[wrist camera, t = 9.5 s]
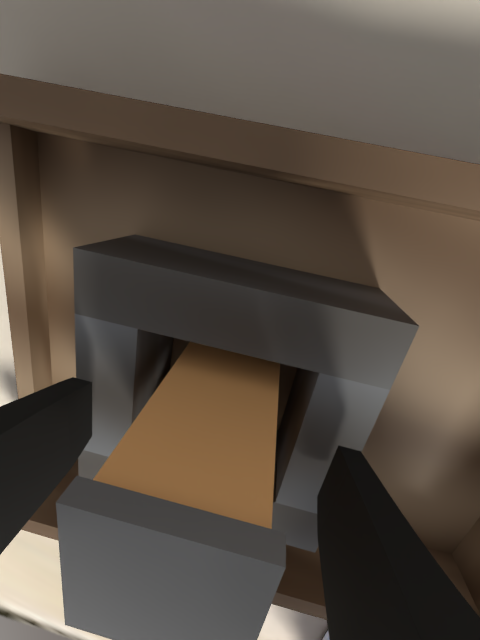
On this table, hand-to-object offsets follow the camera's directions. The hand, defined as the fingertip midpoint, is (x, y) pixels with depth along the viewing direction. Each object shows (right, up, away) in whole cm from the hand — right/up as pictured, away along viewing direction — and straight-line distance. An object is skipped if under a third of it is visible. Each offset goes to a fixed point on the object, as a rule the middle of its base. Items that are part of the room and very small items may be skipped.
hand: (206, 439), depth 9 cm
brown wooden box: (+3, +1, +4) cm, 5 cm away
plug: (+1, +2, +4) cm, 4 cm away
